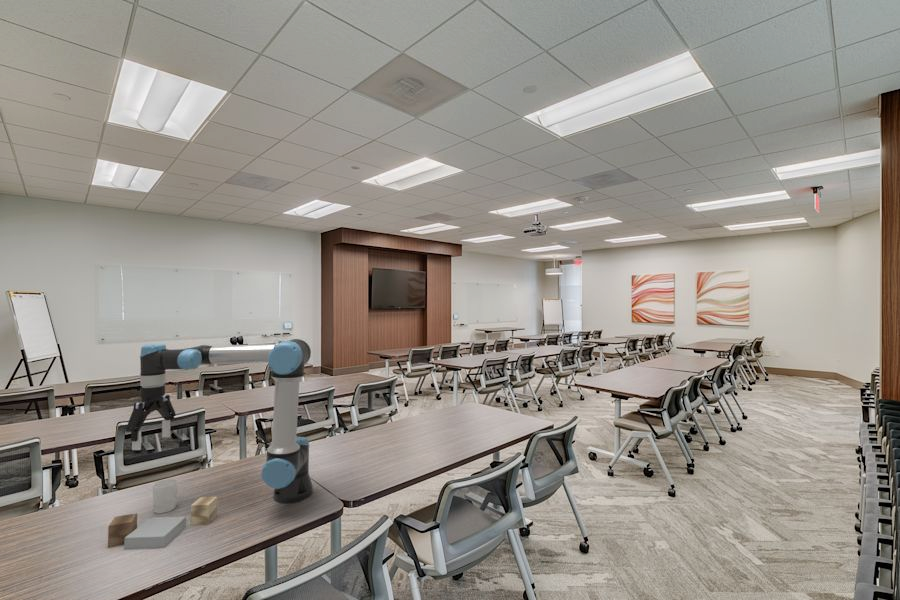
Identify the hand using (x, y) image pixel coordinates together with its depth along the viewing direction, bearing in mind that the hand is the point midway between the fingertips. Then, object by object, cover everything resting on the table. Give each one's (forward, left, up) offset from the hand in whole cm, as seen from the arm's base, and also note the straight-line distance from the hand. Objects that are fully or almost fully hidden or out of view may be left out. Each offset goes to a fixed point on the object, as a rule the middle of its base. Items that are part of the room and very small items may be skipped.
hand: (151, 443), depth 145 cm
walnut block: (-1, +15, -27) cm, 31 cm away
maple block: (-21, +4, -27) cm, 35 cm away
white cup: (-2, -5, -27) cm, 27 cm away
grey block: (-11, +14, -27) cm, 33 cm away
